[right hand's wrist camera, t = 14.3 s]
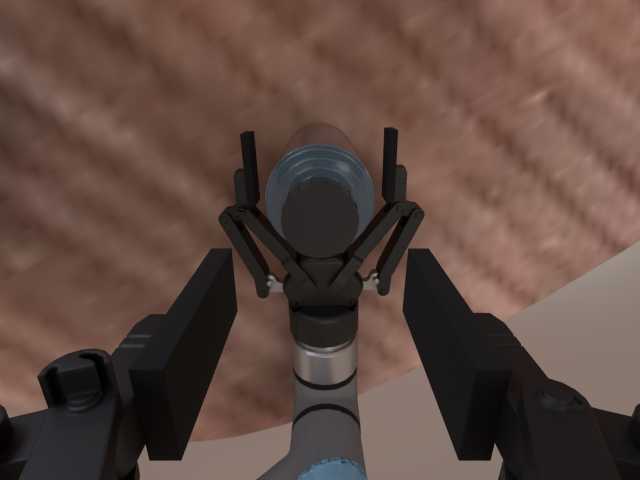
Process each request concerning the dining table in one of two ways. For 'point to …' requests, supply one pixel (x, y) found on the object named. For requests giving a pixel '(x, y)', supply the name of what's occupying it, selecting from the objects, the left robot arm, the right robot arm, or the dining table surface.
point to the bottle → (319, 171)
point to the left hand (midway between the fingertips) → (318, 130)
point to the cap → (320, 217)
